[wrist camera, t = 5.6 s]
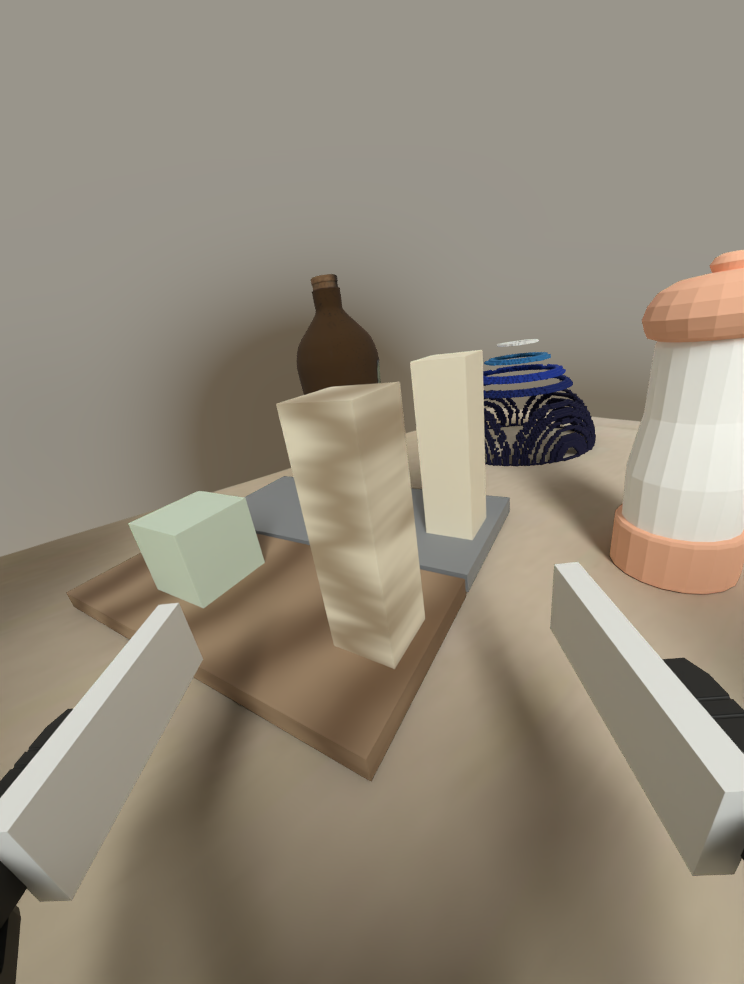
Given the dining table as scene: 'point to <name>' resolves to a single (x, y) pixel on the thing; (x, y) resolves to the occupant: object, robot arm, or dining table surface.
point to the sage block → (199, 546)
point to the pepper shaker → (689, 440)
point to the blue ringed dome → (535, 412)
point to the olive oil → (334, 344)
